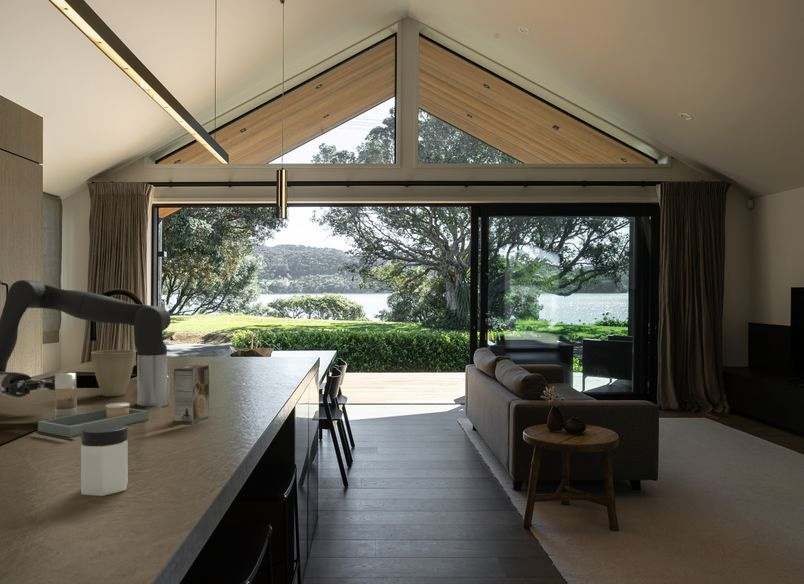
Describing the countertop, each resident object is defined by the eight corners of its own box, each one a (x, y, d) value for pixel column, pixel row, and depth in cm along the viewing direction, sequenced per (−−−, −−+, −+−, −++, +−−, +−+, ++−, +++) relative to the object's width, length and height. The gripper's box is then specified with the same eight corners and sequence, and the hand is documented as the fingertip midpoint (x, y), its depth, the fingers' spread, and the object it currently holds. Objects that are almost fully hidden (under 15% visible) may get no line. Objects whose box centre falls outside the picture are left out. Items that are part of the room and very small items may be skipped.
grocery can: (69, 418, 188) (68, 371, 188) (80, 420, 185) (80, 373, 185) (50, 421, 183) (50, 374, 183) (62, 423, 180) (62, 375, 180)
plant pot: (124, 398, 222) (124, 353, 221) (83, 398, 222) (83, 353, 222) (142, 391, 236) (142, 349, 236) (103, 391, 237) (103, 349, 237)
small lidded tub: (120, 417, 184) (120, 401, 184) (134, 419, 181) (134, 403, 181) (100, 421, 179) (100, 405, 179) (115, 423, 176) (114, 407, 176)
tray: (117, 418, 188) (117, 406, 188) (148, 423, 181) (148, 411, 181) (38, 434, 167) (37, 421, 167) (69, 440, 160) (69, 427, 160)
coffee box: (190, 417, 189) (190, 364, 188) (209, 418, 187) (209, 365, 187) (173, 424, 180) (173, 368, 179) (193, 425, 178) (193, 369, 178)
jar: (118, 479, 127) (117, 421, 127) (137, 487, 122) (137, 426, 122) (72, 490, 121) (71, 428, 121) (90, 499, 115) (90, 435, 115)
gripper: (-11, 375, 191) (18, 379, 183) (35, 369, 204) (65, 373, 196) (-11, 399, 191) (18, 404, 183) (35, 392, 204) (65, 397, 196)
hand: (42, 388), depth 189 cm, fingers open, 8 cm apart
